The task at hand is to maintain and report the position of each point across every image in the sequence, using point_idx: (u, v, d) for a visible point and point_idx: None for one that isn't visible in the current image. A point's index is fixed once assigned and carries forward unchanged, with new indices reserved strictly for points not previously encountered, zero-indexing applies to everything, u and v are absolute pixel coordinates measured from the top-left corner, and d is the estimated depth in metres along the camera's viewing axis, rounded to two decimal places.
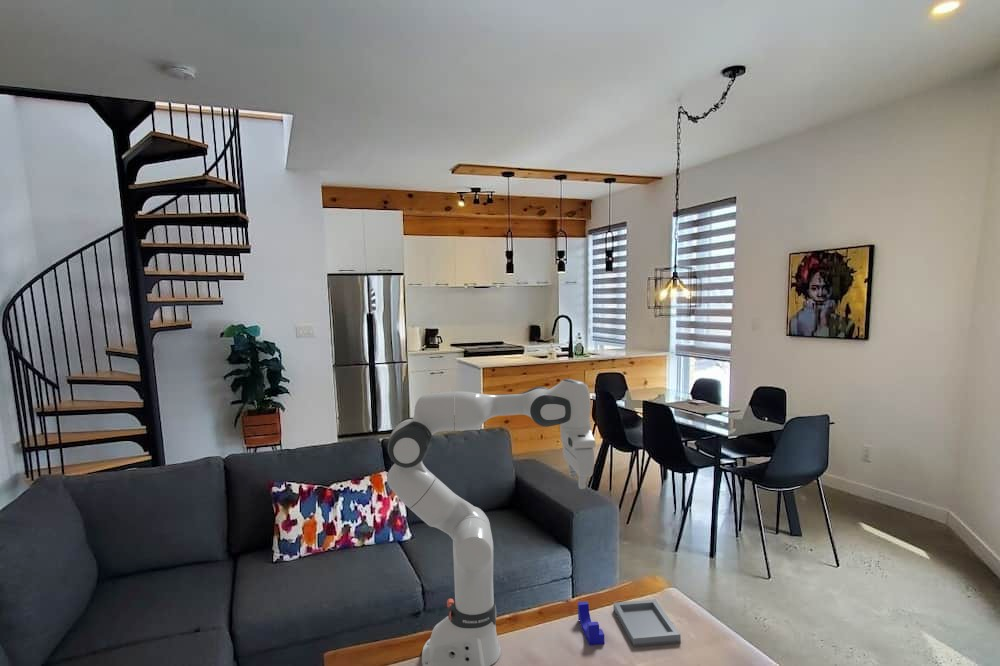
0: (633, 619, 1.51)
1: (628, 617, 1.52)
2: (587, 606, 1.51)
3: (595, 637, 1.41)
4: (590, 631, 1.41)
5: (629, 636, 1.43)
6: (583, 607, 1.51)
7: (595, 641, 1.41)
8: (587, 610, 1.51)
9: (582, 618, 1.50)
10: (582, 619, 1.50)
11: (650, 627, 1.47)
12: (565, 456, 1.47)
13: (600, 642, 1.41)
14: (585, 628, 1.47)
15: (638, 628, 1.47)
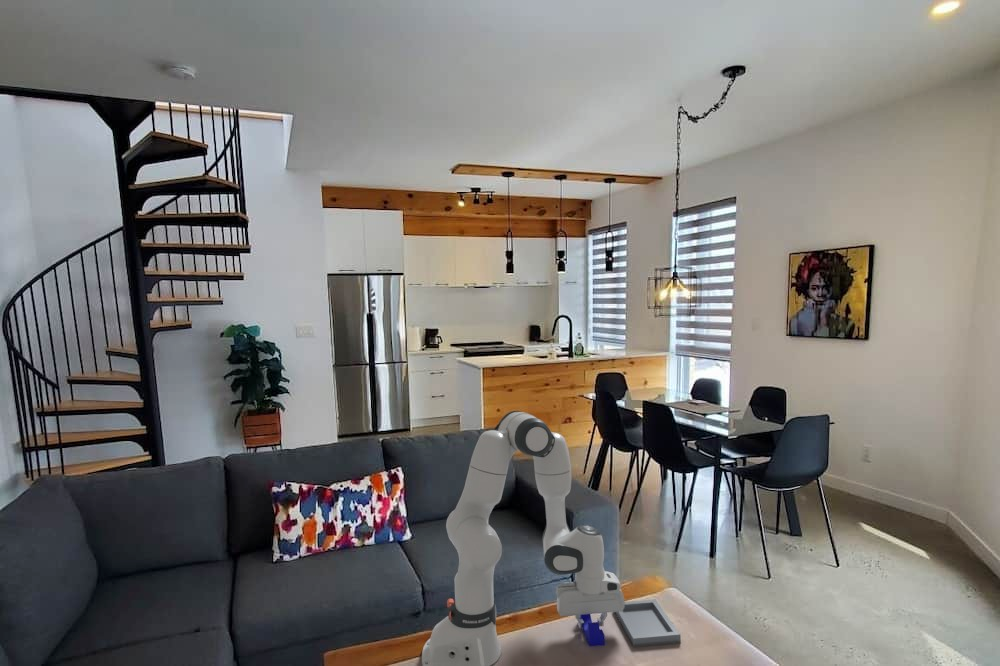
0: (633, 619, 1.51)
1: (628, 617, 1.52)
2: None
3: (596, 638, 1.41)
4: (590, 631, 1.40)
5: (629, 636, 1.43)
6: None
7: (595, 642, 1.41)
8: None
9: (583, 618, 1.49)
10: (583, 619, 1.49)
11: (650, 627, 1.47)
12: (572, 611, 1.45)
13: (600, 643, 1.41)
14: (586, 628, 1.46)
15: (638, 628, 1.47)
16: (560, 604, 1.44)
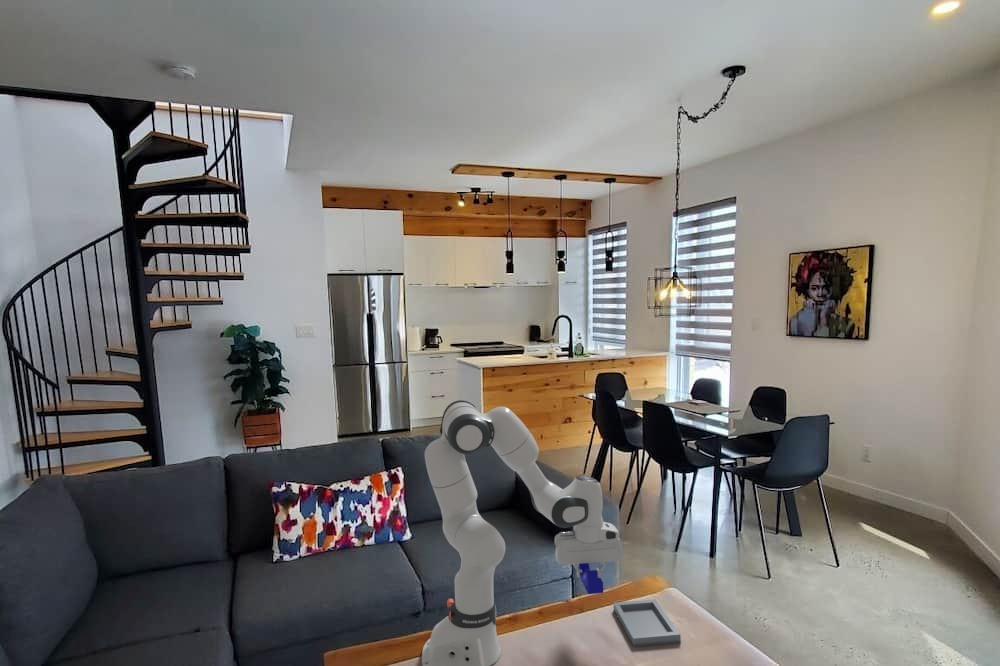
0: (633, 619, 1.51)
1: (628, 617, 1.52)
2: None
3: (594, 585, 1.40)
4: (589, 579, 1.40)
5: (629, 636, 1.43)
6: None
7: (594, 589, 1.40)
8: None
9: (581, 569, 1.49)
10: None
11: (650, 627, 1.47)
12: (570, 560, 1.44)
13: (599, 590, 1.40)
14: (584, 578, 1.46)
15: (638, 628, 1.47)
16: (558, 553, 1.44)
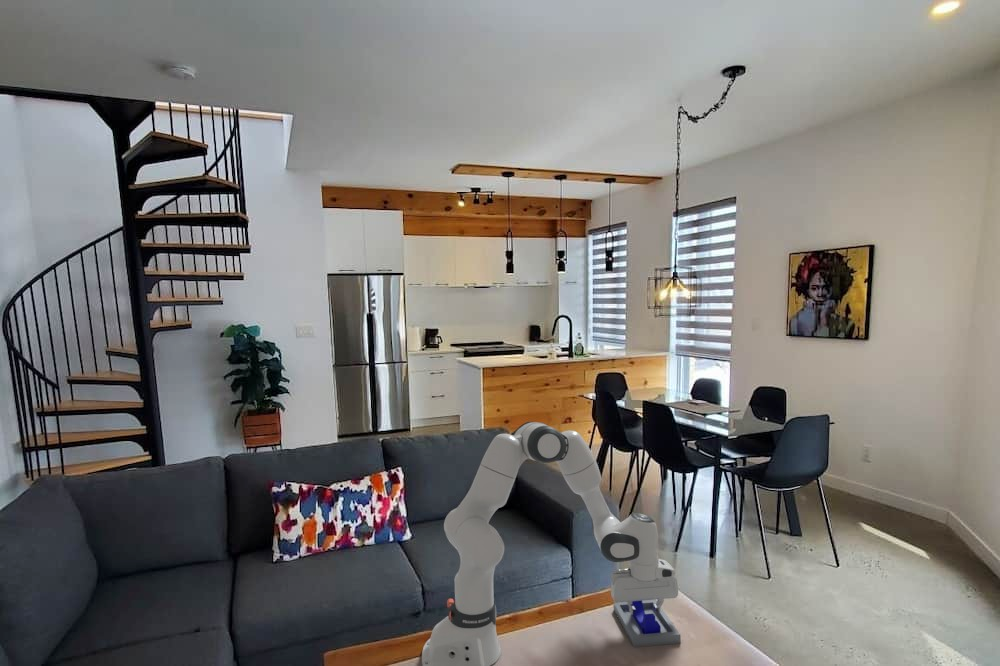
0: (633, 619, 1.51)
1: (628, 617, 1.52)
2: None
3: (652, 629, 1.42)
4: (646, 623, 1.42)
5: (629, 636, 1.43)
6: None
7: None
8: (640, 602, 1.53)
9: (636, 610, 1.51)
10: (636, 611, 1.51)
11: None
12: (627, 597, 1.47)
13: None
14: (640, 620, 1.48)
15: (638, 628, 1.47)
16: (615, 590, 1.46)
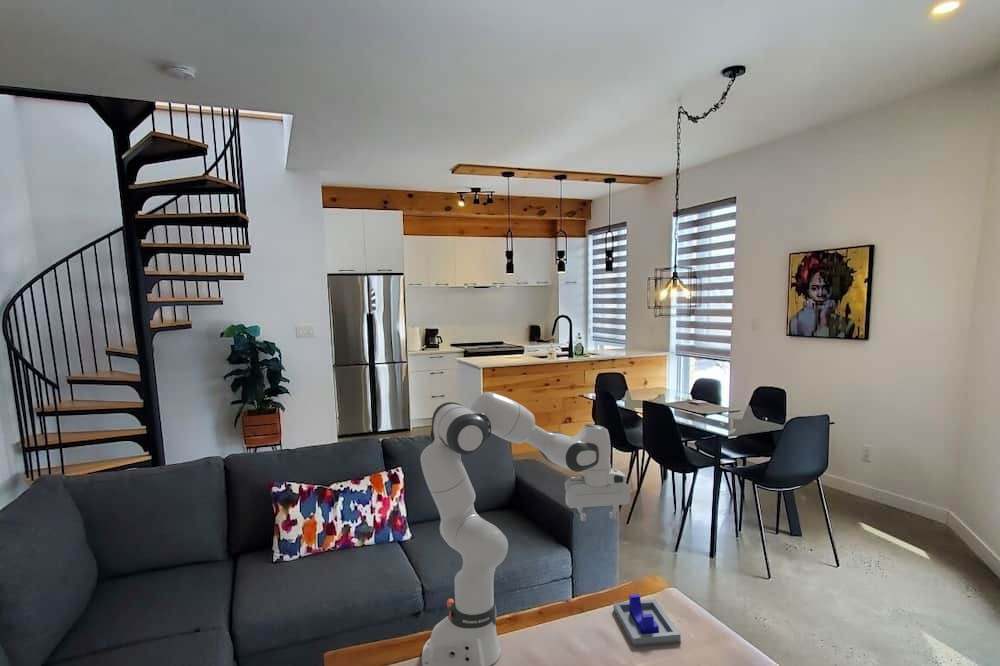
0: None
1: (628, 617, 1.52)
2: (639, 599, 1.53)
3: (650, 629, 1.42)
4: (645, 623, 1.42)
5: (629, 636, 1.43)
6: (635, 599, 1.53)
7: (650, 633, 1.42)
8: (639, 602, 1.53)
9: (634, 610, 1.51)
10: (634, 611, 1.51)
11: None
12: (580, 503, 1.52)
13: None
14: (638, 620, 1.48)
15: (638, 628, 1.47)
16: (569, 496, 1.51)
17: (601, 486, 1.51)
